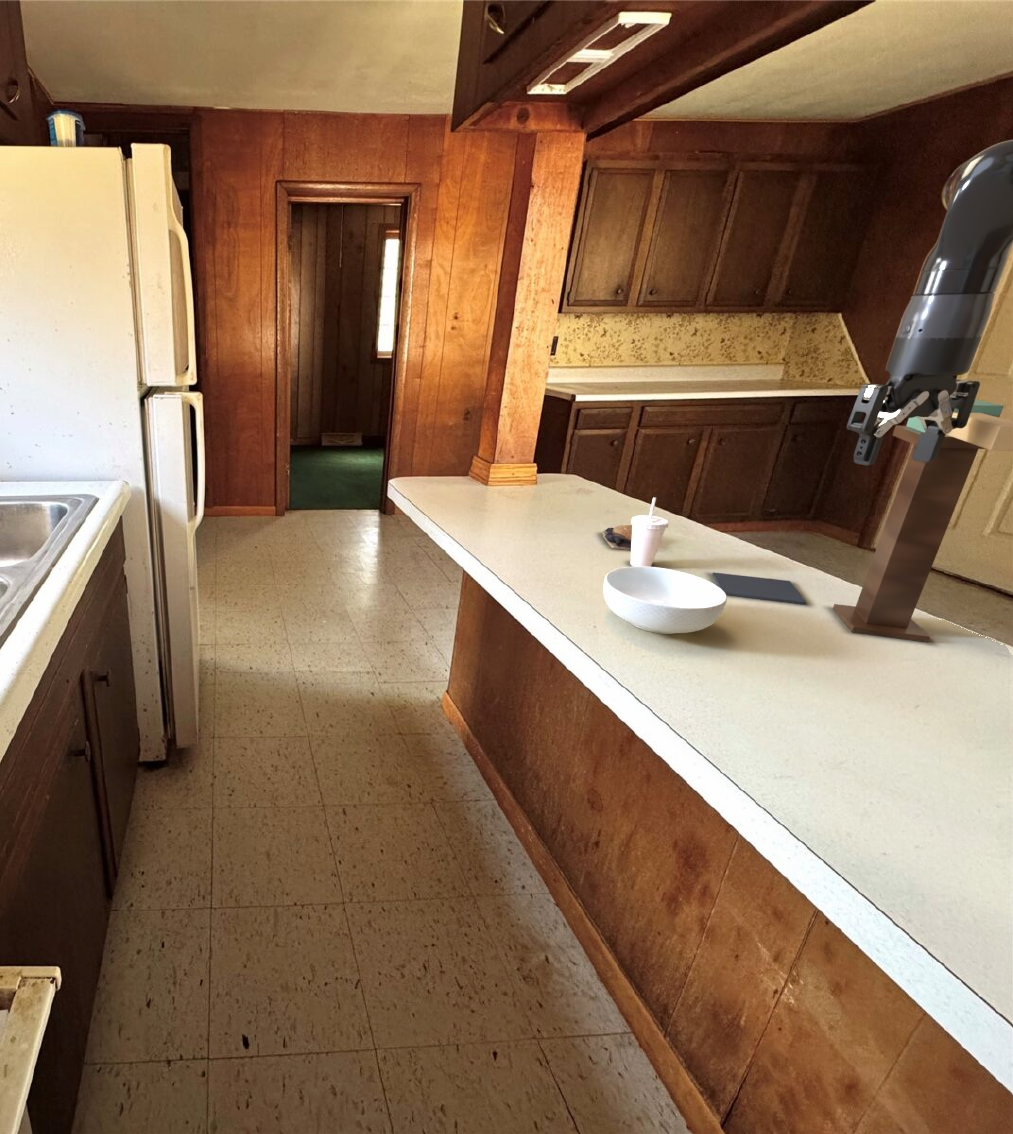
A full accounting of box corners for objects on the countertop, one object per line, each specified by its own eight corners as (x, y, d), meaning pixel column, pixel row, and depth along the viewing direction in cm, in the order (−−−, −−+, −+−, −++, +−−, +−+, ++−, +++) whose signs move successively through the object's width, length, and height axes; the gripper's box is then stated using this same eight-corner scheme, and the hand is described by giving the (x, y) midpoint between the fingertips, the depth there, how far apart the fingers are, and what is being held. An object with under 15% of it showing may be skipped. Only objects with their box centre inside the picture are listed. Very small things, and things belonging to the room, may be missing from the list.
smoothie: (659, 562, 128) (674, 496, 123) (658, 573, 123) (673, 504, 118) (623, 557, 131) (636, 492, 126) (621, 567, 126) (634, 500, 121)
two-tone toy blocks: (969, 428, 91) (980, 400, 89) (1047, 452, 76) (1061, 419, 74) (905, 426, 94) (915, 399, 92) (968, 449, 79) (981, 417, 77)
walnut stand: (902, 617, 102) (977, 427, 91) (928, 642, 95) (1013, 438, 83) (832, 609, 106) (895, 425, 95) (851, 632, 99) (923, 435, 87)
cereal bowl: (627, 648, 96) (636, 607, 94) (581, 602, 112) (587, 566, 109) (741, 647, 95) (753, 606, 93) (678, 601, 111) (687, 564, 108)
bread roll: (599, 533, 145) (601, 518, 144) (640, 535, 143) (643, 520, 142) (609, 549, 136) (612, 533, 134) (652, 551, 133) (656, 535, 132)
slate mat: (789, 583, 116) (790, 580, 116) (805, 604, 108) (806, 602, 108) (712, 574, 121) (712, 572, 121) (722, 594, 113) (722, 592, 113)
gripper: (917, 337, 73) (871, 472, 79) (1028, 332, 74) (974, 466, 80) (855, 335, 80) (817, 459, 86) (957, 331, 81) (912, 454, 87)
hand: (892, 462), depth 83 cm, fingers open, 8 cm apart
